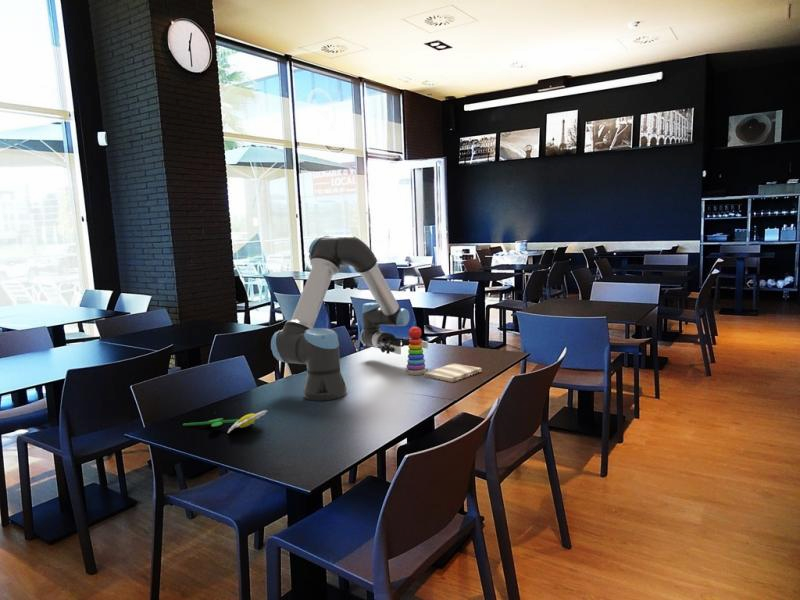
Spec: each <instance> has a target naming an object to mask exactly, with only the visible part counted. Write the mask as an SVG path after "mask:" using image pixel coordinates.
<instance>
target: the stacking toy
mask: <svg viewBox="0 0 800 600" xmlns="http://www.w3.org/2000/svg"><path fill="white" fill-rule="evenodd" d="M422 333H423V332H422V329H421V328H420V327H419V326H412V327H410V329H409V330H408V336H409V338H412V339H410V340H409V343H410V344H409V346H408V354H407V358H408V359H407V360H406V361H407V364H406V374H407V375H410V376H421V375H424V373H425V372H427V368H426V363H425V362H426V359H425V354H424V348H422V344H420V343H421V342H422V341H423V339H422V338H421V336H422ZM420 338H421V339H422V340H421V339H420Z"/></svg>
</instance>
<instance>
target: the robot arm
mask: <svg viewBox="0 0 800 600" xmlns="http://www.w3.org/2000/svg"><path fill="white" fill-rule="evenodd" d="M308 253H309V254H308V258H309V260H310V262H309V263H310V266H311V269H310V272H309V275H308V277H307V279H306V282H305V284H304V287H303V289H302V292H301V295H300V297H299V299H298V302H297V304H296V307H295V310H294V311H293V314H292V317H291V319H290V320H288V321H285V323H284V326H283V328H282V329H281V330H280V329H279V330H278V331H275V332H274V334H273V335H272V336H271V340H270V349H271V351H272V355H273V357H274V358H275V359H276V360H277V361H279V362H281V363H282V362H283V363H286V364H295V365H296V364H297V365H306V370H307V373H306V374H307V376H306V380H305V384H304V389H303V397H304V398H305V399H306V400H308V401H317V402H320V401H332V400H335V399H339V398H342V397H344V396H346V395H347V393H348V391H347V385H346V383H345V382H346V381H345V380H344V378H343V375H342V372H341V360H340V358H341V357H340V341H339V335H338V333H337V332H336V331H335V330H333V329H331V328H323V327H320V328H319V327H314V325H315V323H316V321H317V318H318V315H319V313H320V310H321V307H322V305H323V302H324V300H325V297H326V294H327V291H328V289H329V286H330V284H331V281H332V278H333V276H335V275H337V274H338V273H339V271H340V269H341V267H342V266H351V267H352V268H353V270H354V271H355V273H358V274H360V277H362V280H363V281H364V282H365V285H366V286H367V288H368V290H369V291H370V293H371V295H372V297H373V298H374V300H375V302H367V303H363V304H362V305H361V306H362V307H361V308H362V309H361V310H362V311H361V312H362V313H361V315H362V330H361V331H360V332H359V337H358V338H359V341H360V342H361V344H362V345H365V346H367V347H371V348H376V349H379V350H380V352H381V353H385V352H386V354H390V353H393V354H396V355H401V354H402V348H403V347H405V346H409V344H410V343H409V340H410V339H412V338H411V337H404V336H402V337H401V338H400V337H396V336H395V335H394V334H393V333H389V332H386V331H381V326H392V327H405V326H407V325H408V324H409V323H410V312H409V309H406V308H404V307H401V306H400V305H399V303H398V301H397V300H396V298H395V295H394V294H393V292H392V290H391V289H390V287H389V284H388V283H387V281H386V279H385V277H384V275H383V273H382V272H381V270H380V268H379V266H378V259H377V257H376V255H375V254H374V252H373V250H371V248H370V247H369V246H368V245H367V244H366V243H365V242H364V241H362V239H359V238H358V237H356V236H354V235H349V234H345V235H331V236H329V235H324V236H319V237H316V238H315V239H314V240H313V241H311V243H310V245H309V247H308ZM420 339H421V340H422V342H421V343H420V344H422V349H429V342H428V341H426V340H423V338H421V337H420Z"/></svg>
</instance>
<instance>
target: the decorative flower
mask: <svg viewBox="0 0 800 600" xmlns="http://www.w3.org/2000/svg"><path fill="white" fill-rule="evenodd" d="M267 412H268V410H267V409H265V410H261V411H259V412H257V413H248V414H245V415H244V416H242V417H240V418H237V419H226V420H225V419H224V417H223V418H222V417H221V418H216V419H211V420H208V421H200V422H189V423H188V422H186V423H183V424H182V426H184V427H185V426H186V427H189V426H201V425H210V426H211V427H213V428H215V427H216V428H217V427H219V426H222V425H223V424H226V423H227V424H228V423H234V424H232V425H231V427H230V428H228V431H227V434H229V433H231V431H233V430H234V429H235V428H236V429H237V428H246V427H248V426H251V424H253V425H254V424H255V421H256V420H257V419H260V417H262V416H263V417H264V416H265V414H266V413H267Z"/></svg>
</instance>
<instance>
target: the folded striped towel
mask: <svg viewBox="0 0 800 600" xmlns="http://www.w3.org/2000/svg"><path fill="white" fill-rule="evenodd" d="M478 372H479V373H481V372H482V367H477V366H471V365H466V364H460V363H450V364H447V365H443V366H440V367H437V368H434V369H432V370H428V371H426V372H425V373H424V374H423V376H426V377H425V378H429V377H430V379H434V378H435V380H439V379H440V381H444V382H449V383H454V382H457V381H460V380H463V379H464V378H468V377H470V375H471V376H474V375H475V374H476V373H477V374H479V373H478ZM473 374H474V375H473ZM459 379H460V380H459Z"/></svg>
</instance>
